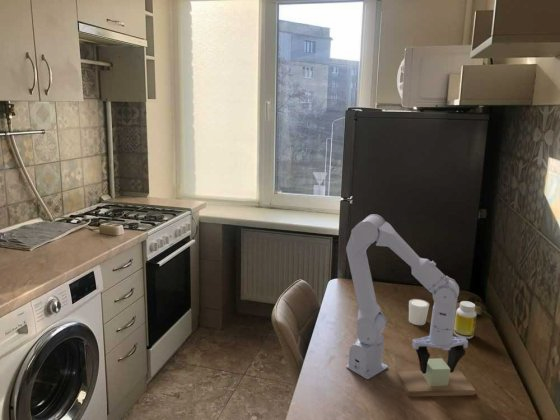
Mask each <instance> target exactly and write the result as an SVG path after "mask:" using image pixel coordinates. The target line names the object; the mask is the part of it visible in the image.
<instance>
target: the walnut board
mask: <svg viewBox="0 0 560 420" xmlns="http://www.w3.org/2000/svg"><path fill="white" fill-rule="evenodd" d="M396 374H397V375H396V377H397V379H398V381H399V382H400V384H401V387H402V388H403V390H404V391H405V393H406V396H407V397H408V398H411V397H448V396H449V397H451V396H452V397H453V396H475V395H476V389H475V388H474V386H473V385H472V384H471V382H470V381H469V379H467V377H466V376H465V375H464V374H463V372H462V370H455V369H454V371H453V373H451V372H450V375H449V383H448V385H446V386H430V385H429V384H428V382H427V381H426V380H425V378H424V377H423V373H422V371H421V370H415V371H414V370H407V371H406V370H404V371H403V370H402V371H397V372H396Z"/></svg>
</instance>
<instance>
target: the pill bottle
mask: <svg viewBox="0 0 560 420" xmlns="http://www.w3.org/2000/svg"><path fill="white" fill-rule="evenodd" d="M476 321H477V311H476V304H475V303H473V302H471V301H467V300H462V301H460V302H459V307H458V308H457V309H456V315H455V323H454V330H453V335H455V337H464V338H465V339H466V340H469V339H472V338H473V337H474V335H475V328H476Z"/></svg>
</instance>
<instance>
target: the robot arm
mask: <svg viewBox="0 0 560 420" xmlns="http://www.w3.org/2000/svg"><path fill="white" fill-rule="evenodd" d="M375 242H376V243H375ZM374 243H375V246H377V247H388V248H389V249H390V250H391V251H392V252H394V254H396V255H397V256H398V257H399V258H401V260H402V261H404V262H405V263H406V264H407V265H408V266H410V268H411V275H412V276H413V277H414V278H415V279H416V280H417V281H418V282H419V283H420V284H421V285H422V286H423V287H424V288H425V289H427V291H428V292H429V293H431V294H432V299H433V302H434V303H433V306H432V313H431V320H430V326H429V327H430V329H429V335H427V336H423V337H420V338H419V337H418V338H413V339H412V342H411V346H412V347H413V349H414V350H415V351H416V354H417V357H418V362H419V371H422V373H423V374H426V371H427V363H428V359H430V356H431V354H430V353H429V350H428V348H437V349H441V350H443V351H448V353H447V354H448V356H447V361H446V364H447V365H448V366H449V368H450V372H451V373H453V371H455V369H456V367H457V365H458V363H459V361H460V360H461V359H462V358H463V357H464V356H465V354H466V350H465V349H466V348H468V346H469V345H468V344H469V341H468V339H465V338H464V337H458V336H454V325H455V318H456V311H457V309H456V308H457V303H458V296H459V294H460V286H459V284H458V282H456V280H455V279H454V278H451V277H449V276H448V275H445V274H444V273H443V272H442V271H441V270H440V269H439V268H438V267H437V263H436V262H435V261H434V260H432V261H431V260H430V259H428V258H423V257H420V256H419V255H418V254H417V253H416V252H415V251H414V249H413V248H411V246H410V245H409V244H408V243H407V242H406V241H405V240H404V238H402V236H400V234H399V233H398V232H397V231H396V230H395V229H394V227H393V226H392V225H391V224H390V223H389V222H388V221H385V218H384V217H382V216H381V215H379V214H377V213H376V214H374V213H373V214H369V215H367V216H366V217H365V218H364V219H363V220H362V221H360V222H358V223H357V224H356V225H355V226H354V227H353V228H352V229H351V233H350V236H349V239H348V242H347V245H346V246H345V249H346V250H345V251H346V255H347V260H348V265H349V269H350V275H351V279H352V283H353V284H352V285H353V288H354V293H355V298H356V303H357V307H358V312H357V318H356V322H357V327H356V336H357V339H356V341H355V343H354V344H352V345H351V346H350V347H349V354H348V364H346V365H345V368H347V369H349V370H350V371H352V372H354V373H356V374H357V375H359V376H361V377H362V378H364V379H366V380H370V379H371V378H373V377H375V376H376V375H378V374H379V373H381V372H383V371H385V370H387V369H388V368H389V367H388V365H387V364H385V363H384V362H383V353H384V345H385V337H384V335H383V331H384V330H385V329H386V327H387V324H388V323H387V318H386V316H385V315H384V314H383V311H382V309H381V308H382V307H381V306H380V305H379V304H378V302H377V297H376V293H375V287H374V284H373V278H372V274H371V270H370V269H371V268H370V265H369V259H368V255H367V249H369V247H370V246H371V244H374Z"/></svg>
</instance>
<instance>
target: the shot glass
mask: <svg viewBox="0 0 560 420" xmlns="http://www.w3.org/2000/svg"><path fill="white" fill-rule="evenodd" d="M429 307H430V303H429V302H428V301H427V300H423V299H420V298H419V299H417V298H412V299H410V300H408V322H409V323H411V325H416V326H423V325H425V324H426V321H427V317H428V312H429Z"/></svg>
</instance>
